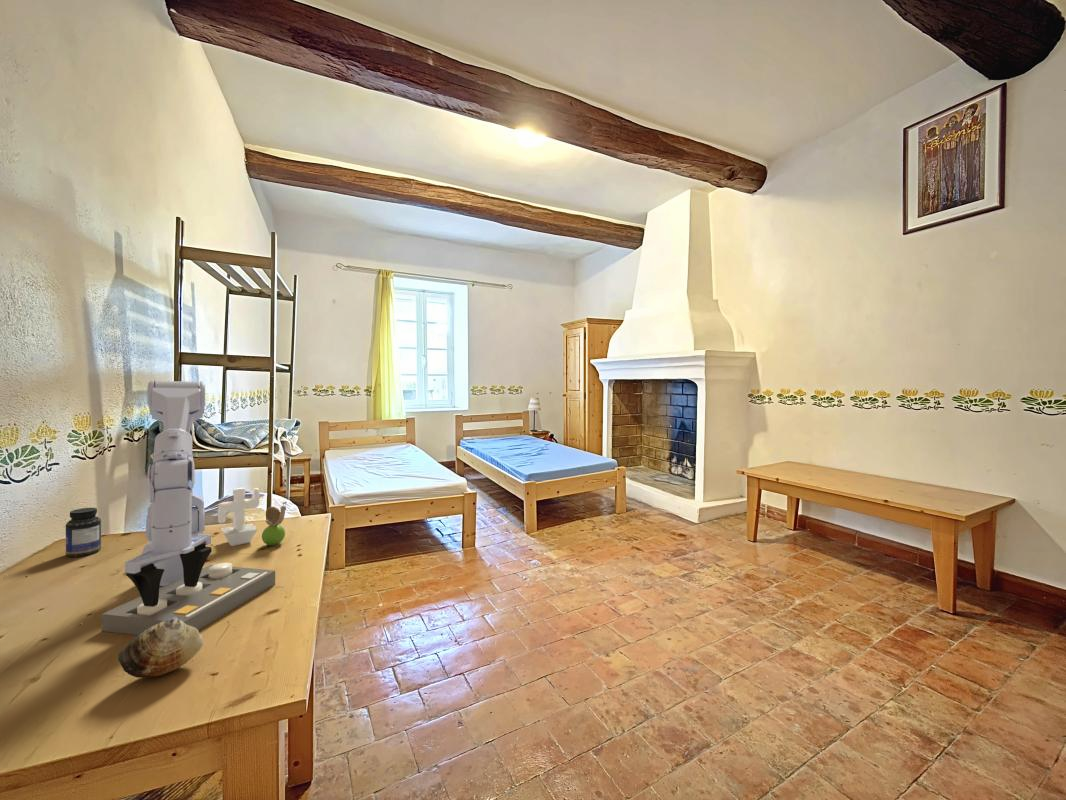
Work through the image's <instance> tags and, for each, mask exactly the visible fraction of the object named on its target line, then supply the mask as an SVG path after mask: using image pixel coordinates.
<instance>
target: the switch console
mask: <svg viewBox="0 0 1066 800" xmlns="http://www.w3.org/2000/svg"><path fill="white" fill-rule="evenodd" d="M213 565H214V564H209V565H207V566H205V567H203V568H202V571H201V573H200V577H199V580H198V582H201V583H202V589H201V590H199V591H197V592H196V593H194V594H192V595H190V596H183V595H176V588H177V587H179V586H181V585H183V584H184V577H182V578H180V579H178V580H176V581H174V582H171V583H169V584H167V585H165V586H159V599H166V600H167V607H166V608H164V609H162V610H160V611H158V612H156V613H154V614H152V615H141V614H137V607H138V606H139V605H141V604H142V603H143V601H142V598H141V595H140V596H138V597H136V598H134V599H132V600H129V601H128V602H125V603H122V604H121V605H118V606H115V607H114V608H111V609H109V610H107V611H105V612H104V613H101V632H108V633H117V634H123V635H124V634H126V635H133V636H138V635H139V634H141V633H142V632H144V631H145V630H147V629H148V628H150V627H152V626H154V625H156V624H159V623H161V622H163V621H165V620H167V619H169V618H173V617H177V618H178V619H180V620H181V621H182V622H184V623H185V624H187V625H189V626H192V627H195V628H196V629H197V630H198V631H201V630H202V629H204V628H205V627H207V626H208V625H210V624H211V623H214V622H215V621H216V620H219V619H220V618H221V617H223V616H225V615H226V614H228V613H230V612H231V611H234V609H236V608H238V607H240V606H241V605H243V604H245V603H246V602H248V601H249V600H251V599H253V598H255V597H256V596H259V594H261V593H262V592H263V593H264V592H265V591H266V590H268V589H269V588H271V587H273V586H274V585H276V570H275V569H264V568H251V567H239V566H238V567H237V566H232V574H231V575H229V576H227V577H225V578H223V579H221V580H218V579H209V568H210V567H211V566H213Z"/></svg>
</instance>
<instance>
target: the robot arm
mask: <svg viewBox="0 0 1066 800" xmlns="http://www.w3.org/2000/svg"><path fill="white" fill-rule="evenodd" d="M146 392H147V393H146V394H147V395H146V397H147V399H146V400H147V406H148V409H149V415H151V418H152V419H153V420H156V421H158V422H161V423H162V425H163V431H161V432H159V433H157V435H156V436H155V438H154V447H153V459H152V464H151V463H150V464H149V465H148V469H147V488H148V492H149V503H150V504H149V506H148V507H147V515H146V519H145V537H146V540H148V542H147V543H145V546H144V547H143V548H142V551H141V554H139V555H137V556H136V557H133V558H132V559H129V560H127V561H124V573H125V575H126V576H127V577H128V578H129V580H130V581H131V582H132V583H133V584H134V586H135V587H136V589H137V591H138V594H139V595H140V596H141V598H142V601H143V604H144V606H151V607H154V606H156V605H157V604H158V600H159V588H160V587H163V586H165V585H167V584H169V583H171V582H174V581H176V580H178V579H180V578H182V577H184V584H185V586H189V587H195V586H197V583H198V580H199V577H200V573H201V571H202V568H204V565H205V563H206V561H207V560H208V557H210V555H211V553H212V547H211V546H208V545H211V544H212V533H211V534H209V533H203V532H205V518H206V515H205V501H204V500H203V498H202V497H201V496H198V495H196V494H194V493H192V489H193V488H194V487H195V486H194V485H195V476H196V475H195V471H196V470H195V462H194V461H195V460H194V455H193V440H194V439H193V436H192V434H191V429H192V427H193V424H194V423H195V422H196V421H198V420H199V419H203V418H204V414H205V407H206V383H205V382H204V381H202V380H199V381H180V380H179V381H177V380H176V381H175V380H173V381H172V380H155V379H150V381H148V383H147V389H146ZM190 482H191V487H190Z"/></svg>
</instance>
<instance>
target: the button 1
mask: <svg viewBox="0 0 1066 800" xmlns="http://www.w3.org/2000/svg"><path fill="white" fill-rule="evenodd" d="M166 607H167V600H166V599H159V600H158V604H157V605H156V606H154V607H151V606H144V604H143V603H142V604H141V605H139V606H138V607H137V614H141V615H152V614H154V613H156V612H158V611H160V610H162V609H164V608H166Z"/></svg>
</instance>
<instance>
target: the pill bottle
mask: <svg viewBox="0 0 1066 800" xmlns="http://www.w3.org/2000/svg"><path fill="white" fill-rule="evenodd" d="M97 513H98V508H97V507H84V508H77V509H73V510H71V511H69V518H71V519H70V520H68V521H67V522H66V523H65V556H66V557H68V558H78V557H85V556H89V555H93V554H95V553H98V552H99V551H100V550H101V549H102V519H101V518H100V517H99V516H97Z"/></svg>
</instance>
